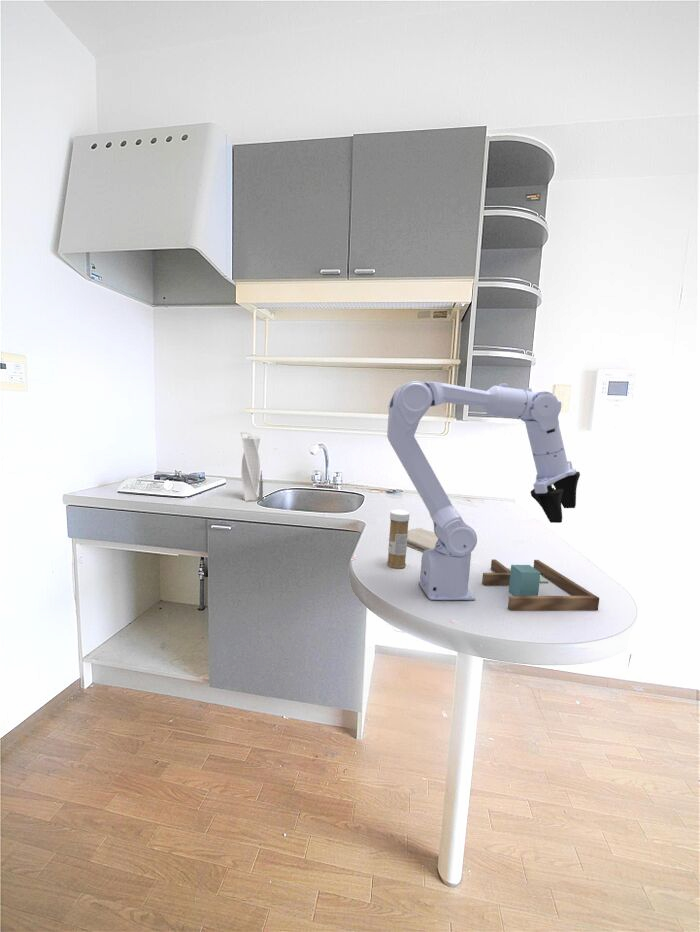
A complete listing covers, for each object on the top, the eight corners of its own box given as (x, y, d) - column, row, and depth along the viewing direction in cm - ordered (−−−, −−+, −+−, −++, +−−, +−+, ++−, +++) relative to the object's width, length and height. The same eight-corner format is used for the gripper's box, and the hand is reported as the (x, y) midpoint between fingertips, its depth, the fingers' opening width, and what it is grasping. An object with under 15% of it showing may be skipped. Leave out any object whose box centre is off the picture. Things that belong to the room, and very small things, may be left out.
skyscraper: (242, 502, 150) (243, 432, 146) (237, 498, 157) (238, 431, 153) (263, 501, 154) (265, 433, 151) (257, 497, 161) (258, 432, 158)
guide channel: (510, 610, 71) (511, 598, 71) (467, 569, 91) (468, 559, 91) (597, 610, 73) (599, 598, 73) (536, 569, 93) (538, 559, 93)
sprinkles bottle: (385, 561, 93) (388, 508, 92) (403, 562, 94) (407, 509, 92) (389, 569, 89) (392, 513, 87) (408, 569, 89) (411, 514, 88)
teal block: (518, 601, 76) (521, 572, 75) (508, 591, 80) (511, 564, 79) (537, 600, 76) (540, 572, 75) (526, 591, 80) (529, 564, 79)
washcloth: (435, 559, 98) (436, 548, 97) (388, 540, 112) (388, 530, 111) (463, 552, 105) (464, 541, 105) (415, 534, 119) (416, 525, 119)
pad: (516, 583, 84) (516, 581, 84) (499, 569, 92) (499, 568, 92) (548, 583, 85) (548, 581, 85) (529, 569, 93) (529, 568, 93)
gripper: (555, 459, 68) (571, 529, 69) (582, 438, 77) (596, 501, 78) (517, 463, 73) (533, 528, 75) (546, 443, 82) (560, 502, 84)
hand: (563, 514), depth 77 cm, fingers open, 7 cm apart
